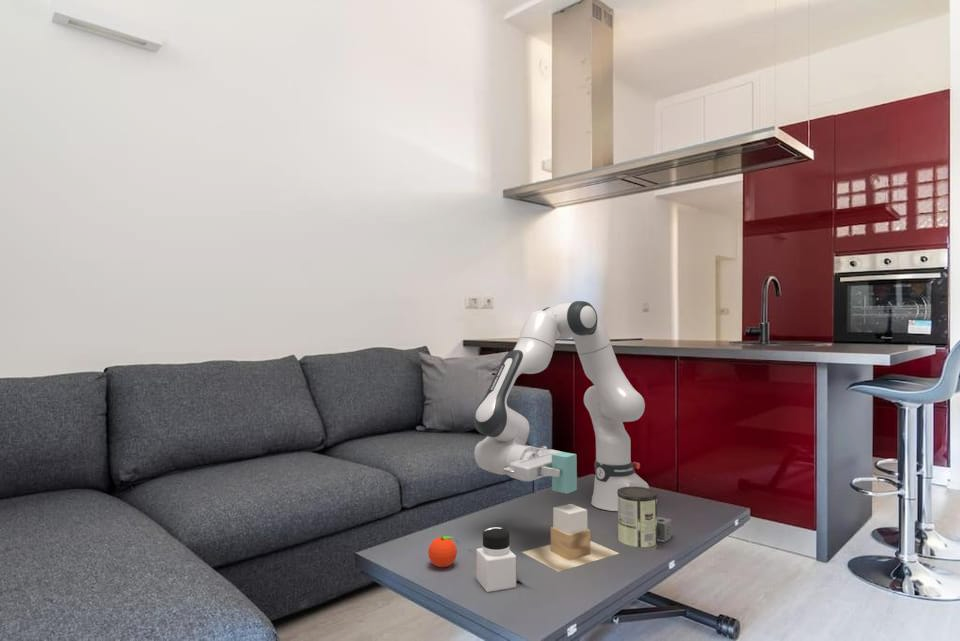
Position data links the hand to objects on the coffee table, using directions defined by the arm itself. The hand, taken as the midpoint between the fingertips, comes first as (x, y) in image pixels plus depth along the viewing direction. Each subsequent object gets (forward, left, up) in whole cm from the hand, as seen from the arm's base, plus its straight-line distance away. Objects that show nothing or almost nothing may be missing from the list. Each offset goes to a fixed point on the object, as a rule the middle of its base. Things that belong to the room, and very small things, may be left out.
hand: (567, 470), depth 144 cm
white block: (0, +1, -15) cm, 15 cm away
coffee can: (-21, +4, -22) cm, 31 cm away
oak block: (0, +1, -21) cm, 21 cm away
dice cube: (-30, +4, -22) cm, 37 cm away
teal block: (0, -1, -5) cm, 5 cm away
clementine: (+29, -12, -22) cm, 38 cm away
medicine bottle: (+24, +3, -22) cm, 32 cm away
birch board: (0, +1, -22) cm, 22 cm away
